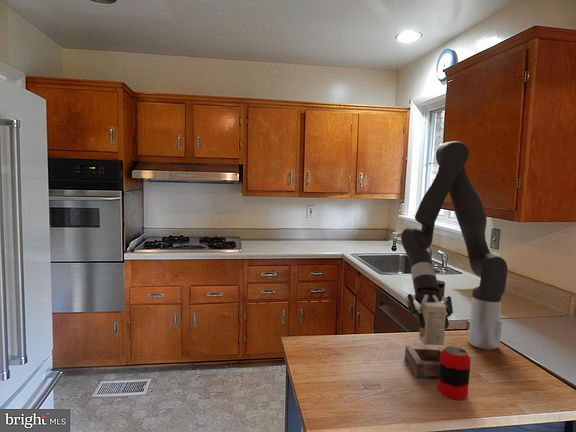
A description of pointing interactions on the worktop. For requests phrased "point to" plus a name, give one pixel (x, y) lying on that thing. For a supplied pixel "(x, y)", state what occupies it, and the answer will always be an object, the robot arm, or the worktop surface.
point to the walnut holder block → (424, 361)
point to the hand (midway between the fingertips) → (434, 327)
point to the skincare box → (433, 323)
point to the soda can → (454, 373)
